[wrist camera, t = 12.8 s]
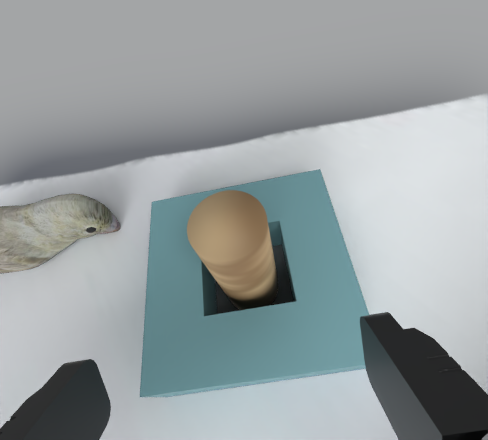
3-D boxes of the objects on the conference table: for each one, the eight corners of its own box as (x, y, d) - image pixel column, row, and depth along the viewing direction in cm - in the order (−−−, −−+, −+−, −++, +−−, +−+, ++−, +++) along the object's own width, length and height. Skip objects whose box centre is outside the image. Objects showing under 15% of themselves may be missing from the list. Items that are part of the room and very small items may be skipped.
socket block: (166, 396, 20) (139, 397, 17) (169, 225, 28) (151, 201, 24) (369, 367, 19) (385, 362, 16) (317, 198, 27) (320, 169, 23)
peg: (229, 316, 23) (187, 268, 14) (224, 265, 25) (186, 198, 16) (282, 307, 22) (273, 253, 14) (273, 257, 24) (260, 183, 16)
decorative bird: (124, 251, 27) (72, 208, 21) (-41, 307, 27) (-144, 279, 21) (121, 206, 30) (75, 156, 24) (-28, 256, 30) (-115, 219, 24)
